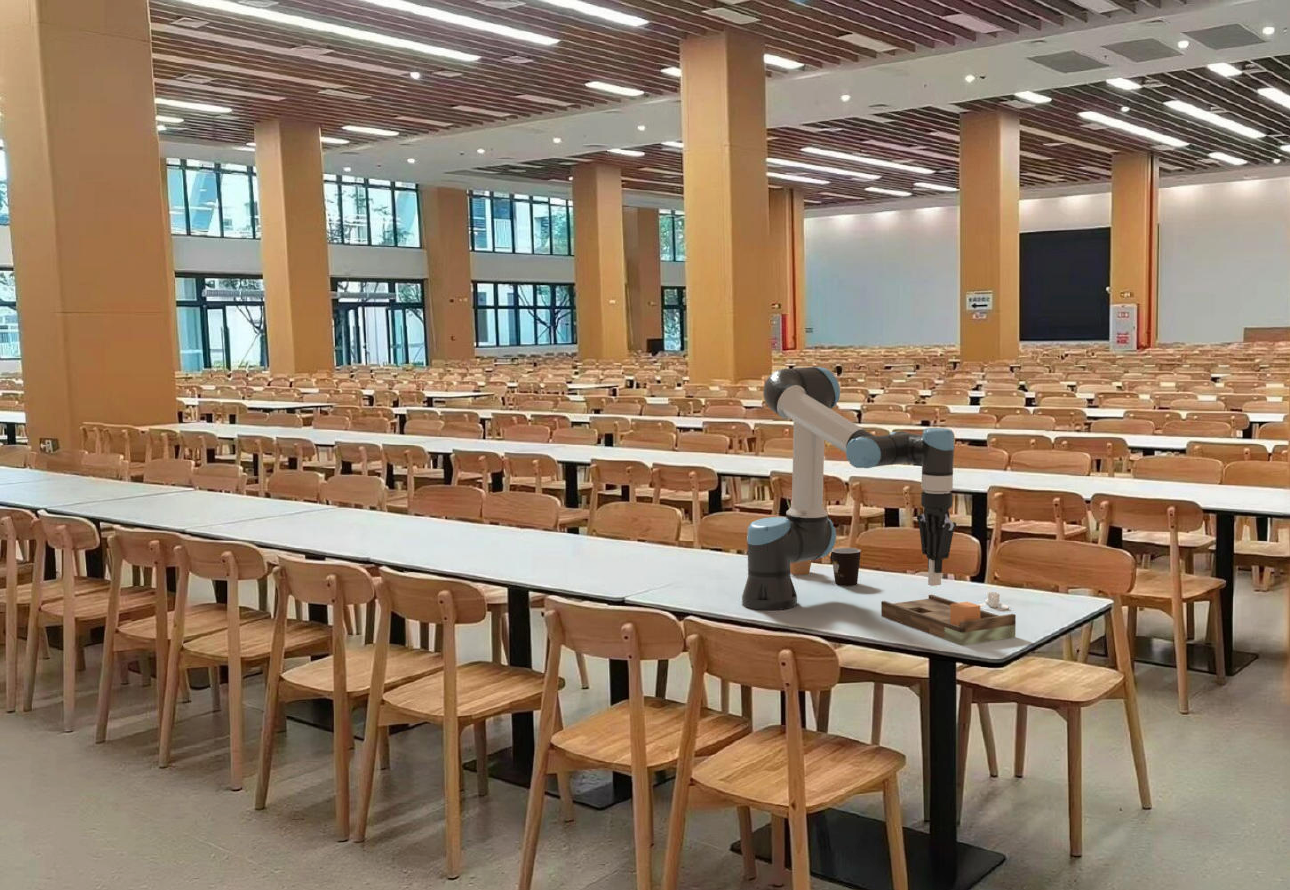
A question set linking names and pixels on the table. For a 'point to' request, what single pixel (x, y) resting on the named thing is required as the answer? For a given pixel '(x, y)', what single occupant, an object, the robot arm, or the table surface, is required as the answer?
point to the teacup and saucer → (993, 601)
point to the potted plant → (799, 564)
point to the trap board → (936, 621)
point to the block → (963, 612)
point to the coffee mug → (845, 565)
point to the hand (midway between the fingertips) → (934, 584)
